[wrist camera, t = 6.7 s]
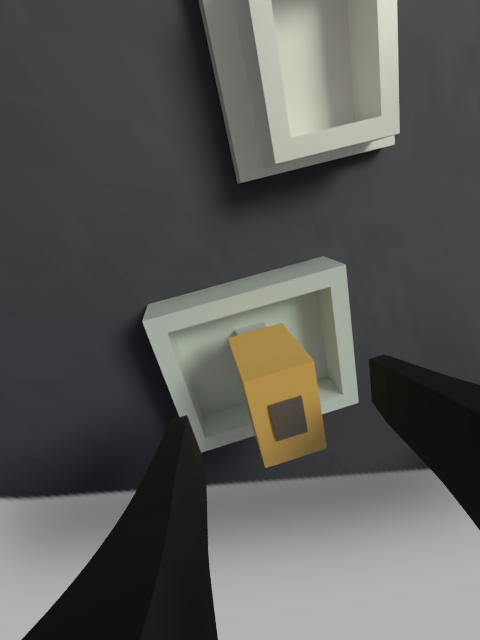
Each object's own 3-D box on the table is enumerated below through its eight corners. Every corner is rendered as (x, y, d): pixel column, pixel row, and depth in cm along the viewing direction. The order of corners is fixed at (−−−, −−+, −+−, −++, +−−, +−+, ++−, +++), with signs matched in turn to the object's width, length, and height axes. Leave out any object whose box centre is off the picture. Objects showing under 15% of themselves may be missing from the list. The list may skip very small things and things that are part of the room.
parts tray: (338, 379, 18) (358, 402, 16) (192, 424, 18) (194, 454, 15) (323, 256, 15) (345, 264, 13) (147, 304, 15) (142, 321, 13)
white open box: (383, 147, 14) (425, 135, 12) (237, 183, 13) (249, 179, 11) (375, -63, 11) (427, -134, 9) (192, -28, 11) (195, -94, 8)
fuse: (283, 375, 17) (328, 450, 12) (240, 388, 17) (266, 470, 11) (271, 309, 15) (315, 362, 10) (222, 323, 15) (243, 383, 10)
